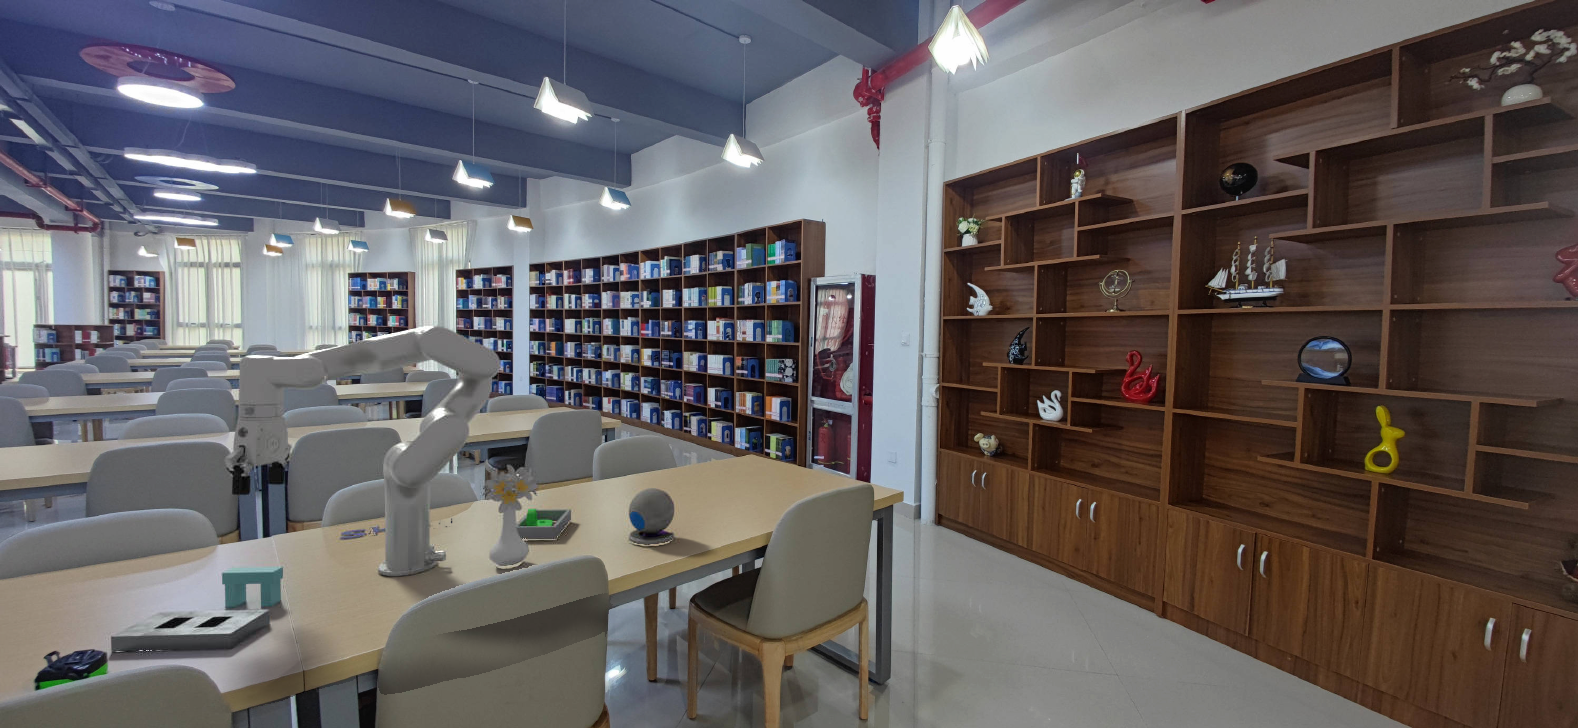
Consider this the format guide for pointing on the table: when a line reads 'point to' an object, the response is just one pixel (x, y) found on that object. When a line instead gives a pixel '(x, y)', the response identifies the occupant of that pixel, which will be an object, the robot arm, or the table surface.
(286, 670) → the table surface
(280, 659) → the table surface
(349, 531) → the signage
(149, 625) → the gray slotted base plate
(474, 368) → the robot arm
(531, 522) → the mechanical part
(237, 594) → the clip
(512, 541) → the flower vase
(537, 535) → the parts tray
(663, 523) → the webcam
